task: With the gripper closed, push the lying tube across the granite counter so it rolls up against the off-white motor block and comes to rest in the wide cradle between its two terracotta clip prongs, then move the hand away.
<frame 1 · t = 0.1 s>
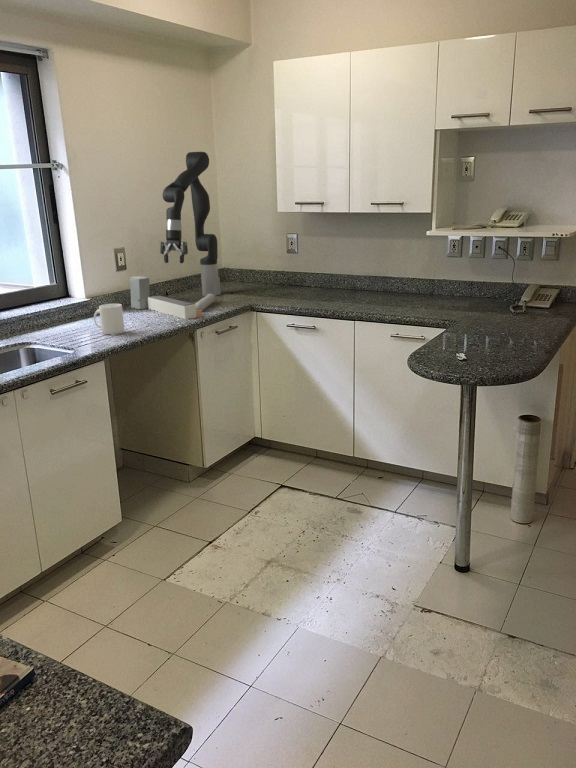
hand: (173, 263, 324), 22 cm above the worktop, tool pointing down, fingers open, 8 cm apart
skincare box: (141, 308, 332), on the worktop
motor block: (171, 313, 317), on the worktop
tube: (204, 308, 328), on the worktop
mug: (110, 333, 280), on the worktop
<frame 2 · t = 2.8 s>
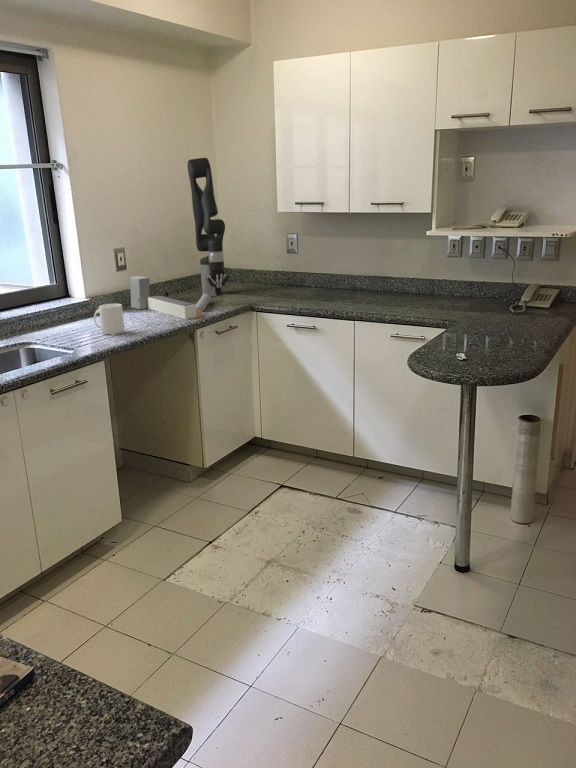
hand: (218, 294, 331), 5 cm above the worktop, tool pointing down, fingers closed
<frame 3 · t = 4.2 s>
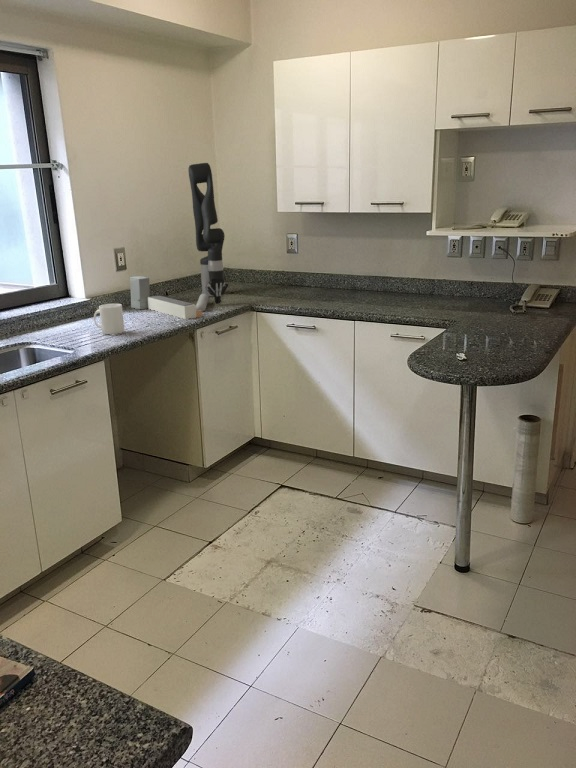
hand: (217, 303, 332), 1 cm above the worktop, tool pointing down, fingers closed
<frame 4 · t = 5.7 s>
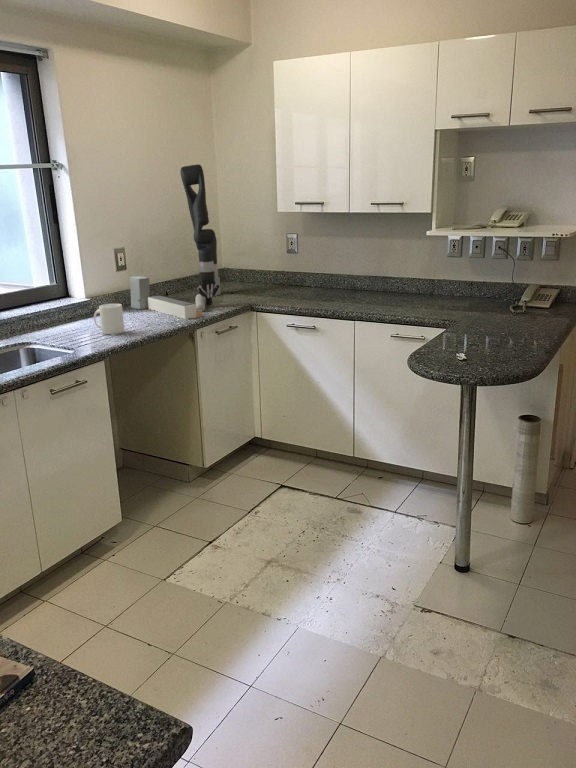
hand: (209, 304, 329), 1 cm above the worktop, tool pointing down, fingers closed
tube: (200, 308, 328), on the worktop, touching gripper
everything else where it was.
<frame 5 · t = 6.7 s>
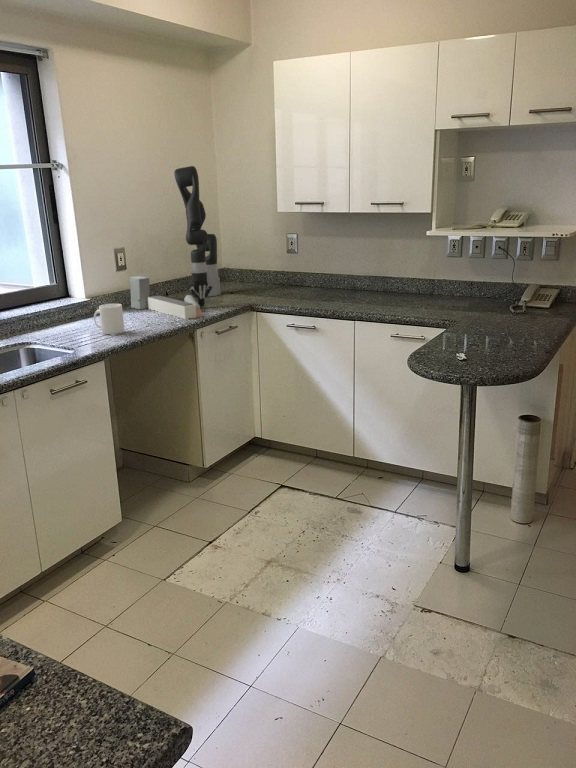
hand: (201, 306, 326), 1 cm above the worktop, tool pointing down, fingers closed
tube: (192, 309, 327), on the worktop
everything else where it was.
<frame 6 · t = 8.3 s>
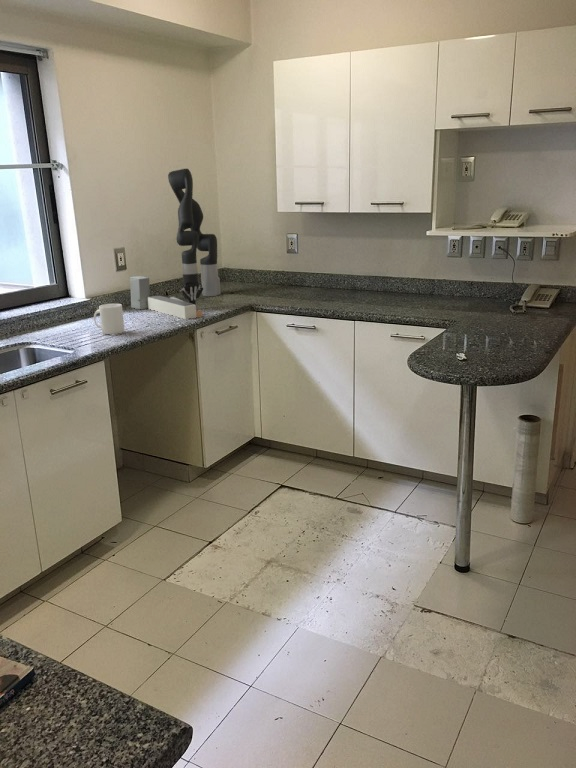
hand: (192, 307, 323), 1 cm above the worktop, tool pointing down, fingers closed
tube: (182, 310, 324), on the worktop, touching gripper
everything else where it was.
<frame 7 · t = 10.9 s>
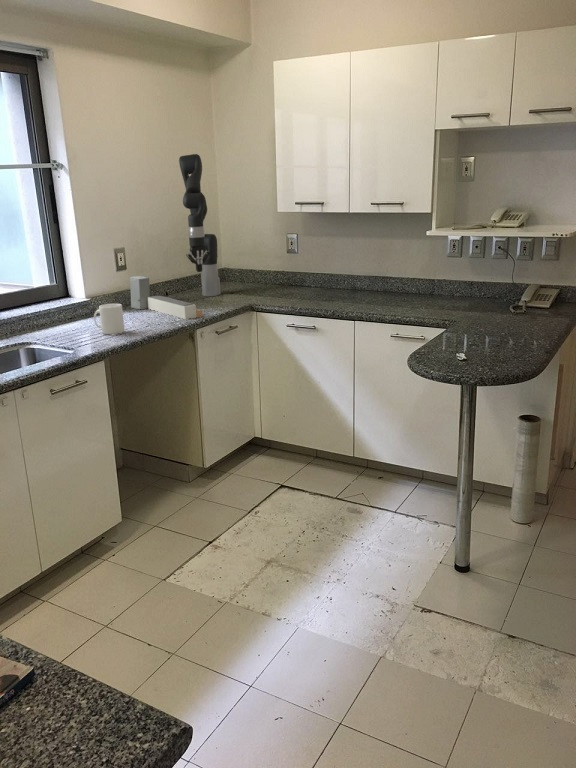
hand: (199, 271, 321), 18 cm above the worktop, tool pointing down, fingers closed
tube: (180, 310, 324), on the worktop
everything else where it was.
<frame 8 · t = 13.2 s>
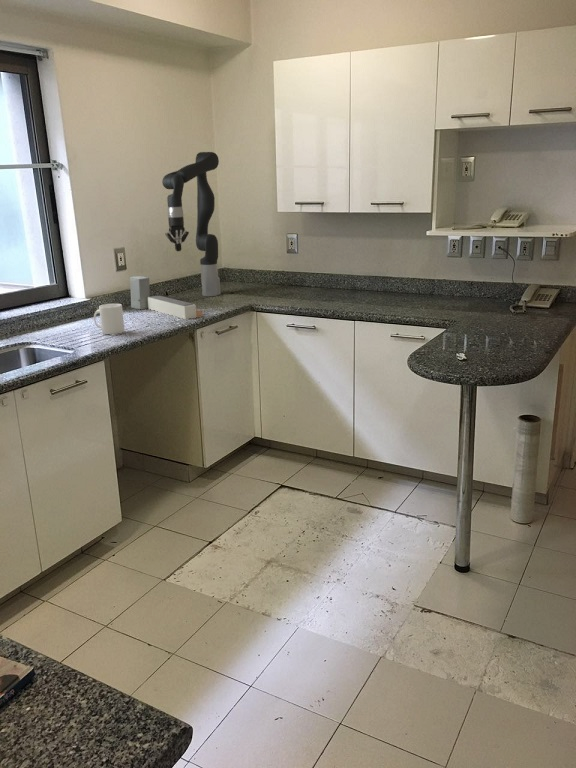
hand: (178, 251, 332), 27 cm above the worktop, tool pointing down, fingers closed
at the end: tube inside the target area on the motor block (4.1 cm from its centre), point 0.0 cm above the motor block's base; tube moved 12.9 cm from its start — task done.
